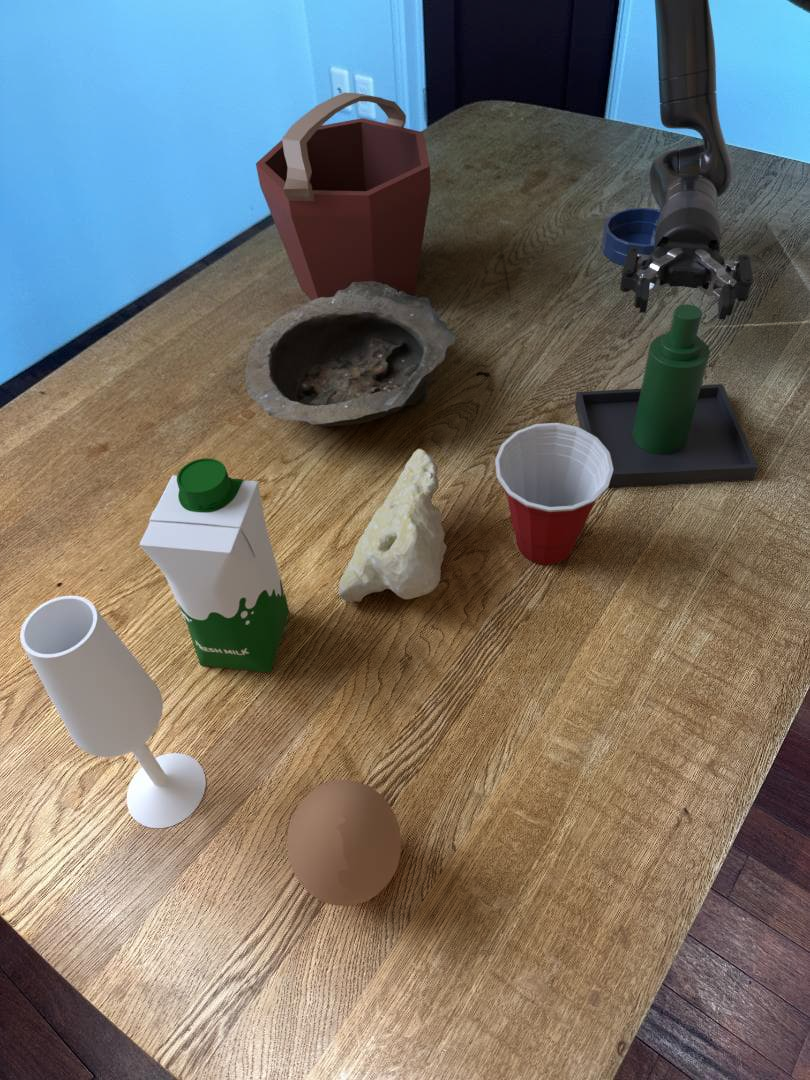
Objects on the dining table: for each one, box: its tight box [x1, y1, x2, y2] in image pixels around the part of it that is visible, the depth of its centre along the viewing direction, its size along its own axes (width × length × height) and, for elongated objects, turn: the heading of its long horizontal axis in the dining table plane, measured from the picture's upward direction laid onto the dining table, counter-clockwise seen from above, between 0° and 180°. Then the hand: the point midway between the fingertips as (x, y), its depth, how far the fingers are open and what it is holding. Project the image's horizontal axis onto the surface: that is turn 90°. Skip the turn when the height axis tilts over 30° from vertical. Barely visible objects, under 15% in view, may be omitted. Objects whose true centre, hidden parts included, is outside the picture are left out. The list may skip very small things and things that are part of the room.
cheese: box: [338, 448, 448, 603], centre depth 81 cm, size 15×7×15 cm
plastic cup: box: [494, 422, 614, 566], centre depth 79 cm, size 11×11×12 cm
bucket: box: [255, 92, 432, 302], centre depth 109 cm, size 24×22×25 cm
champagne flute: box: [19, 595, 207, 829], centre depth 60 cm, size 7×7×24 cm
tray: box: [574, 383, 759, 488], centre depth 92 cm, size 17×14×2 cm
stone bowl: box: [244, 281, 457, 427], centre depth 99 cm, size 25×25×9 cm
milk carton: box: [139, 457, 290, 674], centre depth 71 cm, size 9×9×20 cm
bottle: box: [632, 304, 711, 454], centre depth 87 cm, size 6×6×16 cm
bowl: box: [601, 207, 660, 270], centre depth 118 cm, size 11×11×4 cm
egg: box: [286, 779, 402, 907], centre depth 59 cm, size 8×8×11 cm
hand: (683, 309), depth 90 cm, fingers open, 8 cm apart
